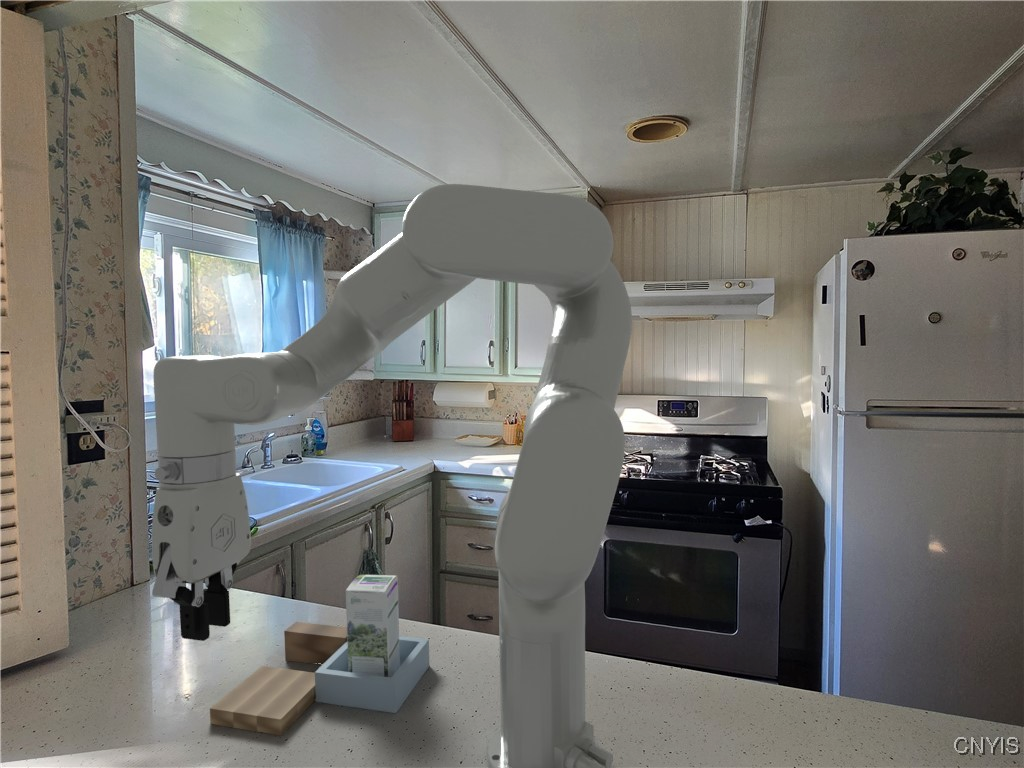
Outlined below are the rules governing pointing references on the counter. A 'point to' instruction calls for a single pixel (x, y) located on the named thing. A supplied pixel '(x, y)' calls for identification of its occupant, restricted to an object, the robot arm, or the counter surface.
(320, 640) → the block
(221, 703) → the board
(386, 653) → the syrup box
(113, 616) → the counter surface
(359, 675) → the square frame
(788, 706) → the counter surface
